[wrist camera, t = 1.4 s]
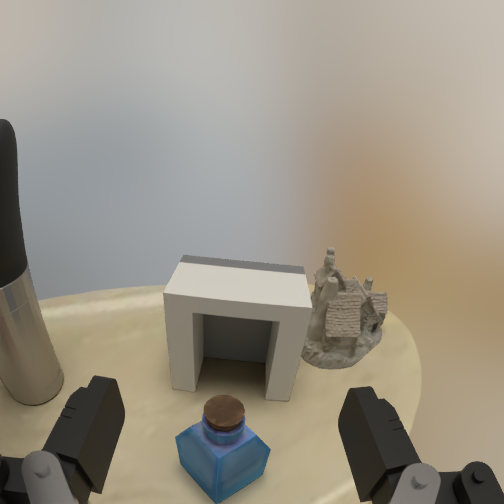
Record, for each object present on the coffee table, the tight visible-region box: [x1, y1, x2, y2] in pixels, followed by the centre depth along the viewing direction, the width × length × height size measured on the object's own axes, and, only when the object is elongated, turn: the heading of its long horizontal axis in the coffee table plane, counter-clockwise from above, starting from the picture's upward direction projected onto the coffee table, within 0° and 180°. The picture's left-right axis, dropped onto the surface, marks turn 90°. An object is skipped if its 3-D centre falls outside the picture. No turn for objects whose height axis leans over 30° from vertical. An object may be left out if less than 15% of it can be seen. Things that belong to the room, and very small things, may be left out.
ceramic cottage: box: [301, 247, 387, 369], centre depth 47 cm, size 16×16×15 cm
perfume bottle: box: [175, 395, 271, 504], centre depth 24 cm, size 6×6×12 cm
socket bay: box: [163, 255, 313, 401], centre depth 37 cm, size 15×9×15 cm, turn 88°
